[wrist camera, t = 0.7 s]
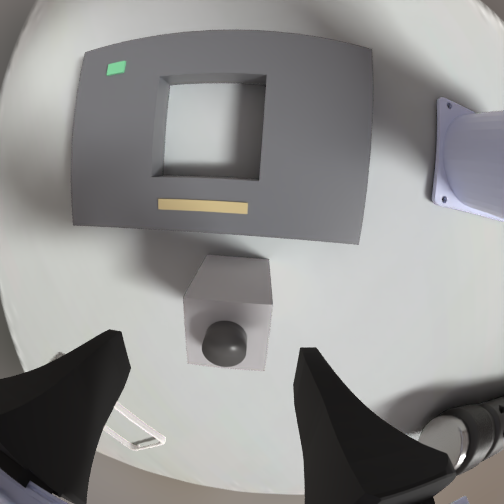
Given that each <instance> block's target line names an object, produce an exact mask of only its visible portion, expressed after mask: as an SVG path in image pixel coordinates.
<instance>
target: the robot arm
mask: <svg viewBox="0 0 504 504" xmlns="http://www.w3.org/2000/svg"><path fill="white" fill-rule="evenodd" d="M447 104H448V105H449V108H448V107H447ZM442 197H444V201H443V202H442ZM432 201H433V203H434V204H436V205H439V206H444V207H448V208H452V209H457V210H461V211H465V212H469V213H473V214H477V215H480V216H484V217H488V218H491V219H495V220H499V221H502V222H503V221H504V110H503V111H492V112H483V113H475V112H473V111H471V110H469V109H467V108H465V107H463V106H461V105H459V104H457V103H455V102H453V101H451V100H449V99H446V98H444V97H440V98H438V99H437V146H436V162H435V174H434V183H433V192H432ZM130 369H131V366H130V363H129V359H128V356H127V352H126V348H125V344H124V340H123V336H122V332H121V331H115V330H110V329H109V330H107V331H105V332H103V333H101V334H100V335H98V336H96V337H94V338H93V339H91V340H89V341H88V342H86V343H84V344H83V345H81V346H79V347H78V348H76V349H74V350H73V351H71V352H69V353H67V354H65V355H64V356H62V357H60V358H58V359H56V360H54V361H52V362H50V363H48V364H46V365H44V366H41V367H39V368H37V369H34V370H31V371H29V372H25V373H22V374H19V375H16V376H12V377H8V378H4V379H0V504H68V503H66V502H64V501H63V500H61V499H59V498H57V497H56V496H54V495H52V493H53V494H55V495H57V496H59V497H63V498H64V499H66V500H68V501H70V502H72V503H74V504H86V501H87V491H88V482H89V477H90V472H91V467H92V462H93V459H94V455H95V451H96V448H97V445H98V442H99V439H100V436H101V433H102V430H103V428H104V426H105V424H106V422H107V420H108V418H109V416H110V414H111V412H112V410H113V408H114V406H115V404H116V402H117V400H118V398H119V397H120V395H121V393H122V391H123V389H124V387H125V384H126V381H127V378H128V375H129V372H130ZM293 386H294V406H295V412H296V417H297V423H298V428H299V434H300V439H301V445H302V451H303V459H304V479H305V504H435V502H434V498H433V496H435V495H436V494H437V493H439V492H440V491H441V490H443V489H444V488H445V487H446V486H448V485H449V484H450V483H451V482H452V481H453V480H454V479H455V477H456V471H455V469H454V467H453V464H452V462H451V460H450V458H449V456H448V454H447V453H445V452H442V451H439V450H437V449H434V448H432V447H429V446H427V445H424V444H422V443H420V442H418V441H416V440H414V439H412V438H410V437H409V436H407V435H405V434H403V433H402V432H400V431H398V430H397V429H395V428H394V427H392V426H391V425H389V424H388V423H387V422H385V421H384V420H382V419H381V418H380V417H378V416H377V415H376V414H375V413H374V412H372V411H371V410H370V409H369V408H368V407H366V406H365V405H364V404H363V403H362V402H361V401H360V400H359V399H358V398H357V397H356V396H355V395H354V394H353V393H352V392H351V391H350V389H349V388H348V387H347V386H346V385H345V384H344V383H343V381H342V380H341V379H340V378H339V377H338V376H337V374H336V373H335V372H334V371H333V369H332V368H331V367H330V365H329V364H328V363H327V361H326V360H325V359H324V357H323V356H322V355H321V353H320V352H319V350H318V349H317V348H316V347H313V348H300V352H299V358H298V363H297V368H296V373H295V379H294V384H293ZM450 504H469V502H468V500H467V497H466V496H463V497H461V498H460V499H458V500H456V501H454V502H452V503H450Z"/></svg>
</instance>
